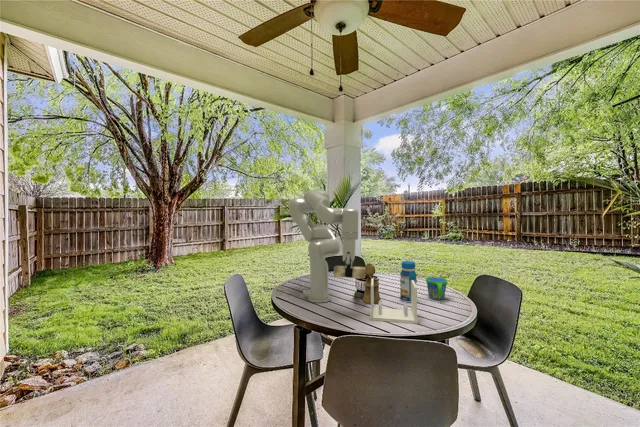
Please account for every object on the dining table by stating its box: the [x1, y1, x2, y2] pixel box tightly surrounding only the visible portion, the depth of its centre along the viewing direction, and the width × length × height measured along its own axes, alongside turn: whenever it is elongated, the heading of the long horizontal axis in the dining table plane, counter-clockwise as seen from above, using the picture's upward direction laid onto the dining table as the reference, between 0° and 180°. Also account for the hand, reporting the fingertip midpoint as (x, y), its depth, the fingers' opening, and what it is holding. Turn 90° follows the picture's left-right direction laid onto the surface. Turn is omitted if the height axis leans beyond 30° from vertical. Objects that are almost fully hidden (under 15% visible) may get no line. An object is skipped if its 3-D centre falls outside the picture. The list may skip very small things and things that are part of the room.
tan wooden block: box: [333, 265, 366, 280], centre depth 129 cm, size 14×5×4 cm, turn 78°
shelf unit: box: [369, 278, 419, 325], centre depth 125 cm, size 20×12×15 cm, turn 78°
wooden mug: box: [362, 263, 382, 305], centre depth 148 cm, size 9×14×18 cm, turn 179°
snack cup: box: [425, 276, 449, 301], centre depth 150 cm, size 16×10×10 cm
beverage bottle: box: [399, 260, 418, 303], centre depth 147 cm, size 8×8×20 cm
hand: (349, 274), depth 129 cm, fingers closed on tan wooden block, 5 cm apart
